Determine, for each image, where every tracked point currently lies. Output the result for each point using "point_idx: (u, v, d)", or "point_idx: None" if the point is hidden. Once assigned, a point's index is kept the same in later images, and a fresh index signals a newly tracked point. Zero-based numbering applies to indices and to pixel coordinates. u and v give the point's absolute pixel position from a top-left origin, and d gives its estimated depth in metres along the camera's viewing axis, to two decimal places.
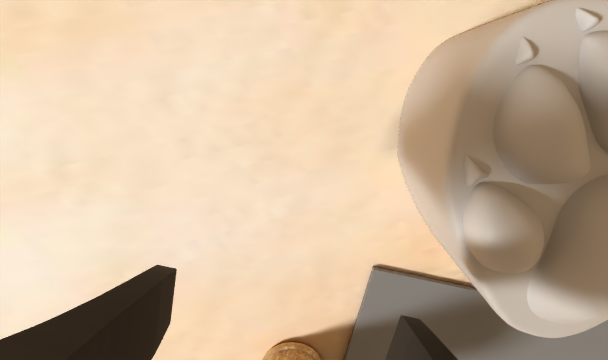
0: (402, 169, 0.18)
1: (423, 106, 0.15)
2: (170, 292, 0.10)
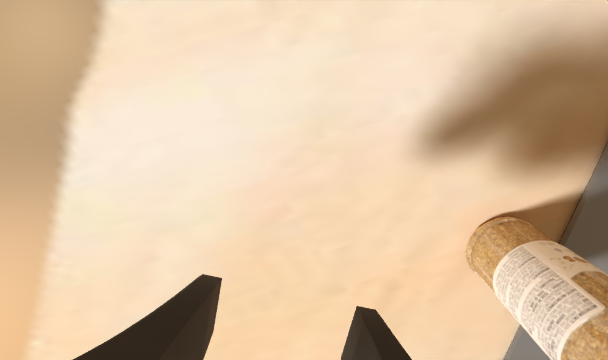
0: None
1: None
2: (216, 301, 0.10)
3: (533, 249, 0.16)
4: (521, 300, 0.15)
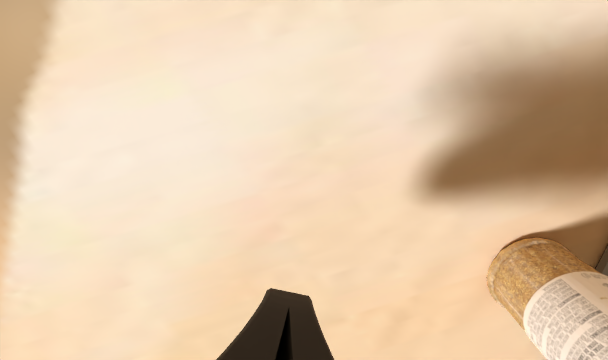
0: None
1: None
2: None
3: (576, 283, 0.13)
4: (565, 349, 0.12)
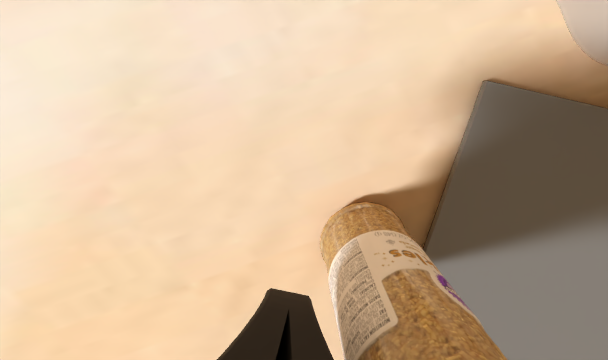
0: None
1: None
2: None
3: (364, 242, 0.13)
4: (337, 309, 0.11)
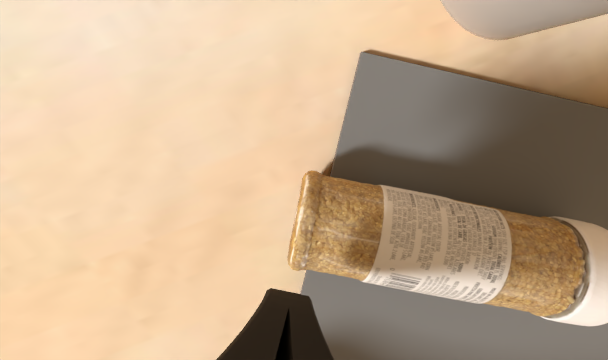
0: None
1: None
2: None
3: (397, 189, 0.14)
4: (443, 237, 0.12)
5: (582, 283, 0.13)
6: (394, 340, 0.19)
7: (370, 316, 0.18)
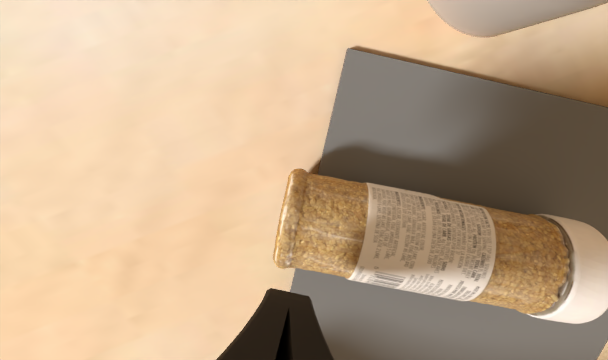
0: None
1: None
2: None
3: (383, 187, 0.14)
4: (427, 236, 0.12)
5: (566, 281, 0.13)
6: (384, 338, 0.19)
7: (360, 313, 0.18)
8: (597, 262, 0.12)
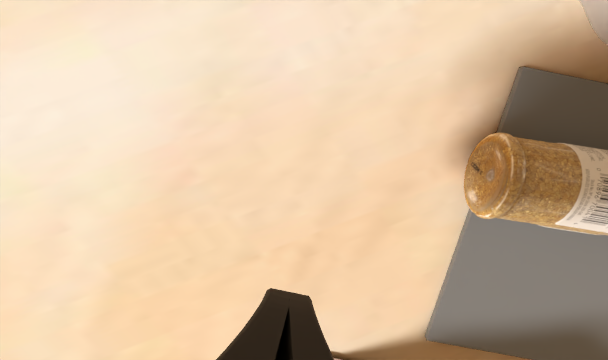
0: None
1: None
2: None
3: None
4: None
5: None
6: (528, 314, 0.21)
7: (508, 293, 0.21)
8: None
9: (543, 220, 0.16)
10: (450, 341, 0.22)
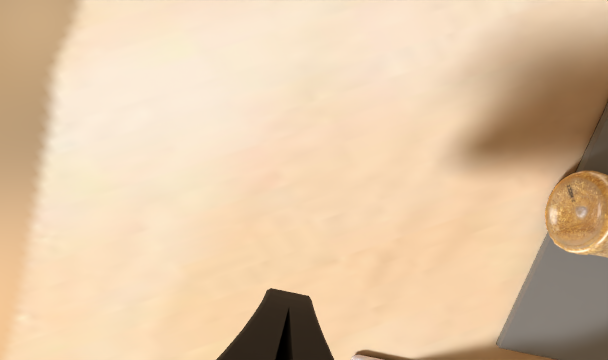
0: None
1: None
2: None
3: None
4: None
5: None
6: (603, 324, 0.21)
7: (586, 303, 0.21)
8: None
9: None
10: (523, 349, 0.22)
